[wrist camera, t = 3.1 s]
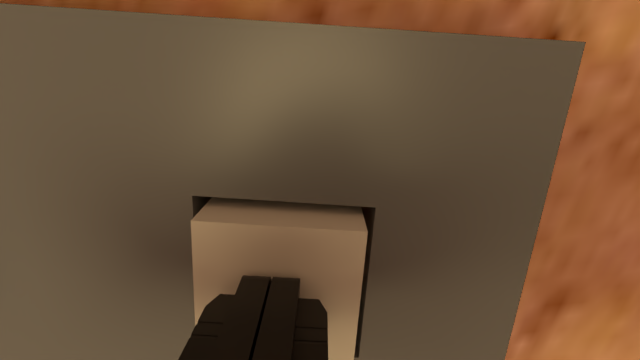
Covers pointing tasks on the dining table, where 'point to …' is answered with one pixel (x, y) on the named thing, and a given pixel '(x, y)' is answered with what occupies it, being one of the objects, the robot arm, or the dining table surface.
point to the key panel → (266, 170)
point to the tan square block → (284, 256)
